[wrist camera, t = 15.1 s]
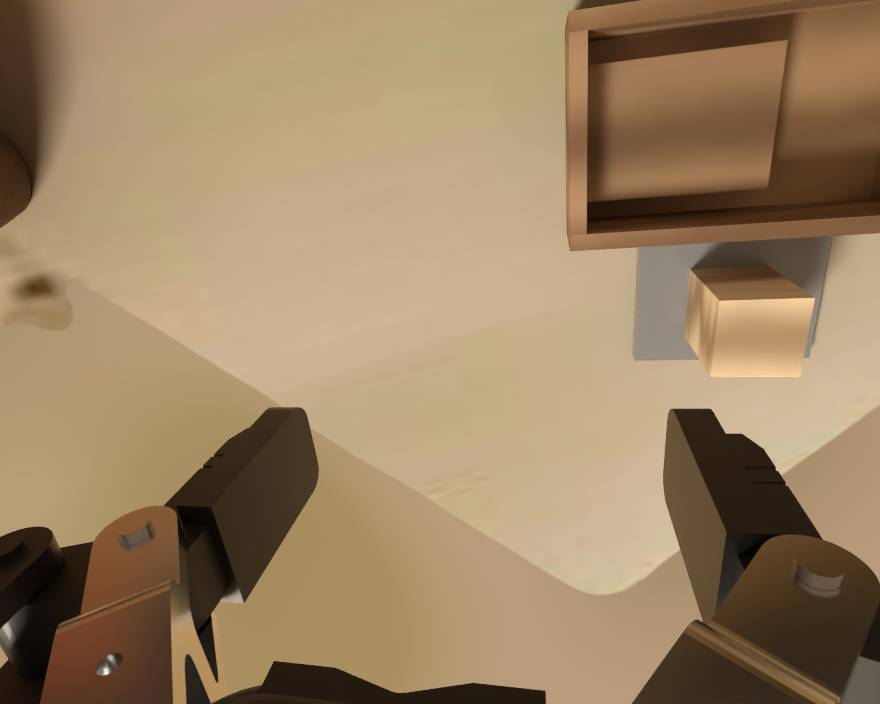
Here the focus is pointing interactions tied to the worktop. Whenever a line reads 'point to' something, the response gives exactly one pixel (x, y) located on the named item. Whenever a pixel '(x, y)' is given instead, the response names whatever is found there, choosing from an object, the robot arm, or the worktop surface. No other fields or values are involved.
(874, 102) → the walnut crate
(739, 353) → the maple block
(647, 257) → the plate
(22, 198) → the plant pot
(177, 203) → the worktop surface
